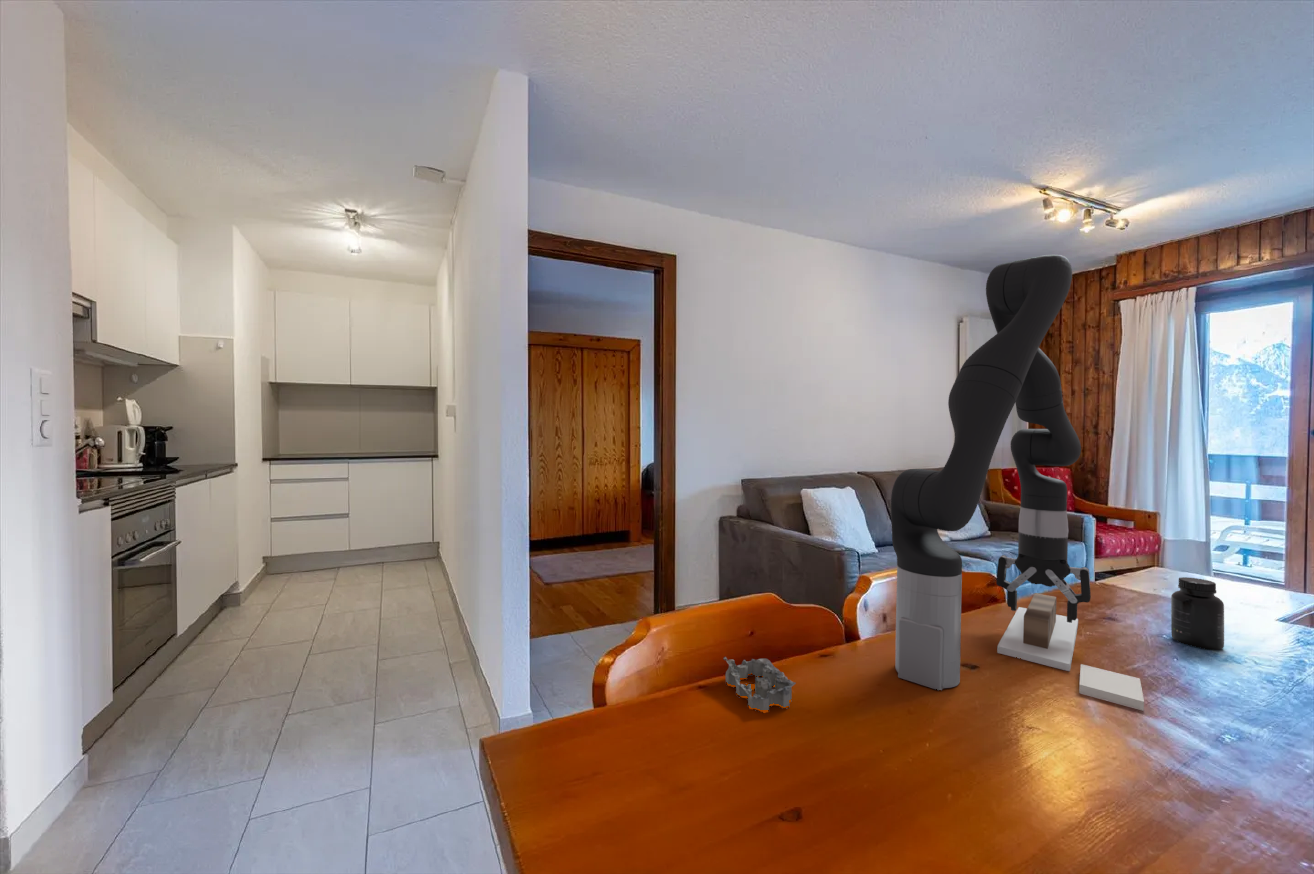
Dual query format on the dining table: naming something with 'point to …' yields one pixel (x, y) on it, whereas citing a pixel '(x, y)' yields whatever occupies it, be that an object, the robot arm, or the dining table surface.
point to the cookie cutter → (760, 683)
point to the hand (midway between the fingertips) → (1041, 615)
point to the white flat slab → (1111, 687)
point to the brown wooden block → (1039, 620)
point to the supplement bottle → (1197, 614)
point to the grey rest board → (1053, 656)
